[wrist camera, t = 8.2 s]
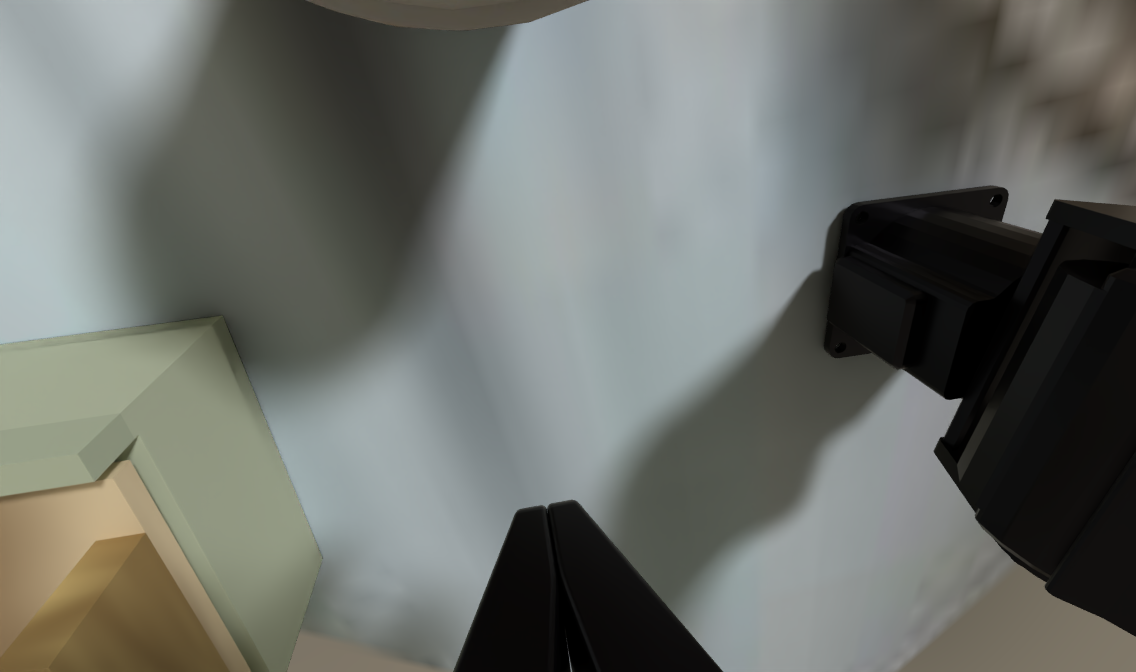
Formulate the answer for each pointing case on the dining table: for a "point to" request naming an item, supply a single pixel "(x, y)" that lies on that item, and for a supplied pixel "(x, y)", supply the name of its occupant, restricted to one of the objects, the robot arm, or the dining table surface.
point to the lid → (102, 585)
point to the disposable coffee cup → (448, 12)
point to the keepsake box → (171, 460)
